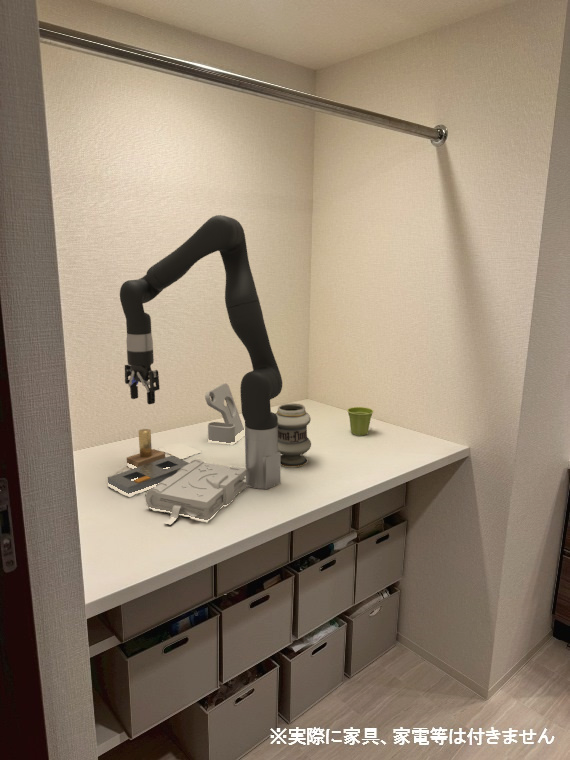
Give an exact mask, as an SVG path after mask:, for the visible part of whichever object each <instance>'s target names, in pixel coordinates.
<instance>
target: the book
mask: <svg viewBox="0 0 570 760" xmlns="http://www.w3.org/2000/svg"><path fill="white" fill-rule="evenodd" d="M189 463H190V464H188V465H186V466H184V467H183V468H181V469H180V470H178V471H177V473H176V474H174V475H173V476H171V477H168V478H166V479H165V480H163V481H162V482H160V483H159V484H157V485H156V487H153V488H151V489H149V490H148V491H146V494H145V497H144V500H145V502H146V503H145V504H146V505H147V507H148V508H149V507H151V508H155V509H160V510H166V511H170V512H172V513H171V514H170V516H169V518H170V517H174V518H179V517H180V516H179V514H184V515H189V516H191V517H195V518H199V519H204V520H208V519H210V518H211V517H212V516H213V515H214V514H215V513H216V512H217V511H218V510H219V509H220V508H221V507H222V506H223V505H227V504H229V503H230V502H231V501H232V500H233V499H234V500H235V497H236V496H237V495H238V494H237V493H239V492H241V491H242V490H243V489H244V488H245V489H246V488H247V487H248V485H247V482H246V474H247V469H246V467H240V466H239V467H238V466H234V465H232V466H227V465H222V464H221V465H220V464H215V463H210V462H209V463H208V462H205V461H204V460H202V459H200V458H195V459H194V460H193V459H192V460H191V461H190V462H189ZM245 489H244V490H245ZM244 490H243V491H244ZM243 491H242V492H243ZM242 492H241V493H242ZM236 494H237V495H236ZM239 494H240V493H239ZM235 495H236V496H235ZM234 496H235V497H234ZM230 504H231V503H230ZM230 504H229V505H230ZM216 514H217V513H216Z"/></svg>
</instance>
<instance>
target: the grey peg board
mask: <svg viewBox="0 0 570 760" xmlns="http://www.w3.org/2000/svg"><path fill="white" fill-rule="evenodd" d="M188 464H190V462H188V461H185V460H181V459H179V458H176V457H173V456H171V455H169V456H167V457H166V456H165V458H163V459H160V460H157V461H154V462H151V463H148V464H145V465H142V466H140V467H137V468H134V469H131V468H130V469H129V470H125V471H123V472H120V473H116V474H114V475H110V476H107V484H108V483H109V484H111V485H113V486H115V487H117V488H118V489H120V490H122V491H124V492H126V493H128V494H129V493H132V492H135V491H138V490H141V489H144V488H146V487H149V486H152V485H154V484H158V483H160V482H162V481H163V480H165V479H166V478H168V477H171V476H173V475H174V474H176V473H177V471H178V470H180V469H181V468H183V467H184V466H186V465H188ZM166 467H170V468H168V469H163V468H166ZM137 477H138V479H136V480H134V481H131V479H134V478H137Z"/></svg>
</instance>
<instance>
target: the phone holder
mask: <svg viewBox="0 0 570 760" xmlns="http://www.w3.org/2000/svg"><path fill="white" fill-rule="evenodd" d="M231 391H232V390H231V389H230V386H229V384H228V383H221V384H220V385H218V386H216V387H214V388H213V389H210V390H209V391H207V392H206V393H205V394H204V399H205V402H206V404H207V405H208V407H210V408H212V409H213V410H215V411H217V412H219V413H220V414H221V416H222V418H223V421H224V422H220V421H219V422H218V421H212V422H209V423H208V424H207V433H208V435H207V438H208V439H209V440H212V441H219V442H226V443H231V442H235V436H236V435H237V434H238V433H240V432H241V431H242V430H244V428H245V426H244V425H243V422H242V420H241V416H240V413H239V411H238V409H237V405H236V402H235V398H234V397H233V394H232V392H231ZM225 402H226V405H225ZM208 439H207V440H208Z"/></svg>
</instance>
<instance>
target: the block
mask: <svg viewBox="0 0 570 760" xmlns="http://www.w3.org/2000/svg"><path fill="white" fill-rule="evenodd" d="M163 458H166V453H163V452H160V451H159V450H158V449H155V448H152V456H151V457H147V458H143V457H140V452H139V453H136V454H133V455H130V456H127V457H126V464H127V463H129V464H132V465H134V466H136V467H140V466H142V465H145V464H148V463H151V462H154V461H157V460H160V459H163Z"/></svg>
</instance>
